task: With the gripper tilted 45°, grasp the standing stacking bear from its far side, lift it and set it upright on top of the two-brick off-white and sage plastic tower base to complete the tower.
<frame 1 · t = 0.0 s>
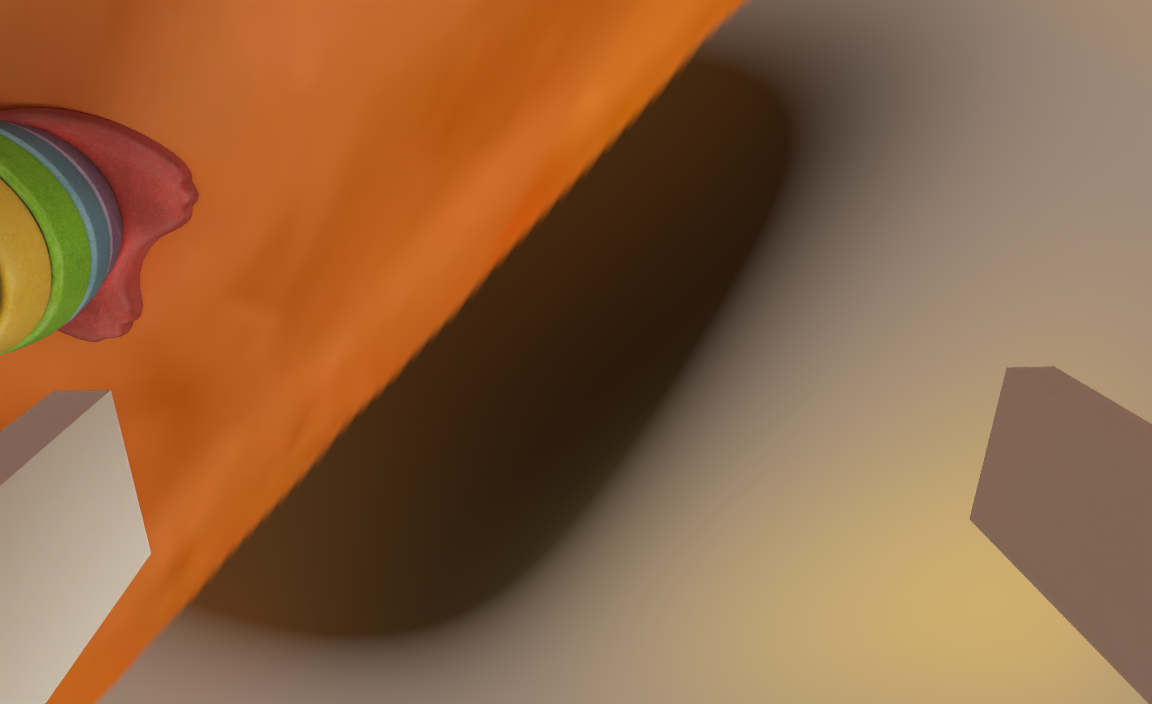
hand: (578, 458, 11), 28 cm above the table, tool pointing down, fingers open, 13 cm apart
stacking bear: (67, 209, 36), on the table
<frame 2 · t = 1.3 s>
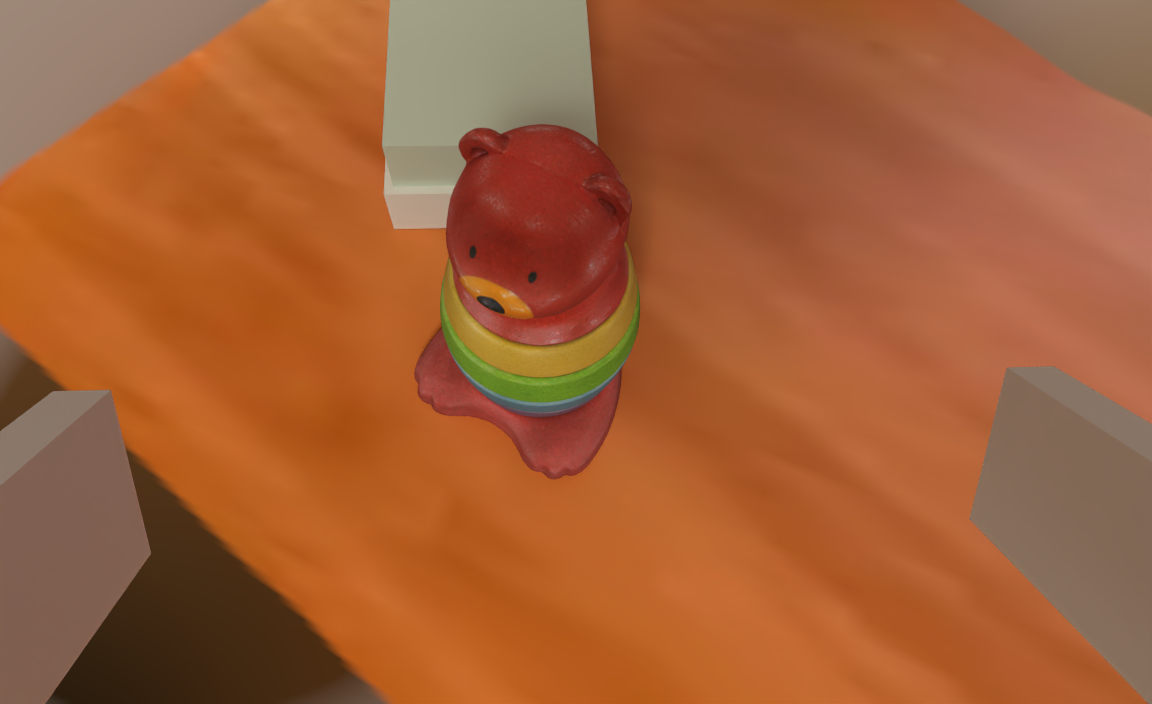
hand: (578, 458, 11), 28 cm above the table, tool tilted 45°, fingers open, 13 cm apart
tower base: (494, 132, 48), on the table
stacking bear: (534, 368, 42), on the table
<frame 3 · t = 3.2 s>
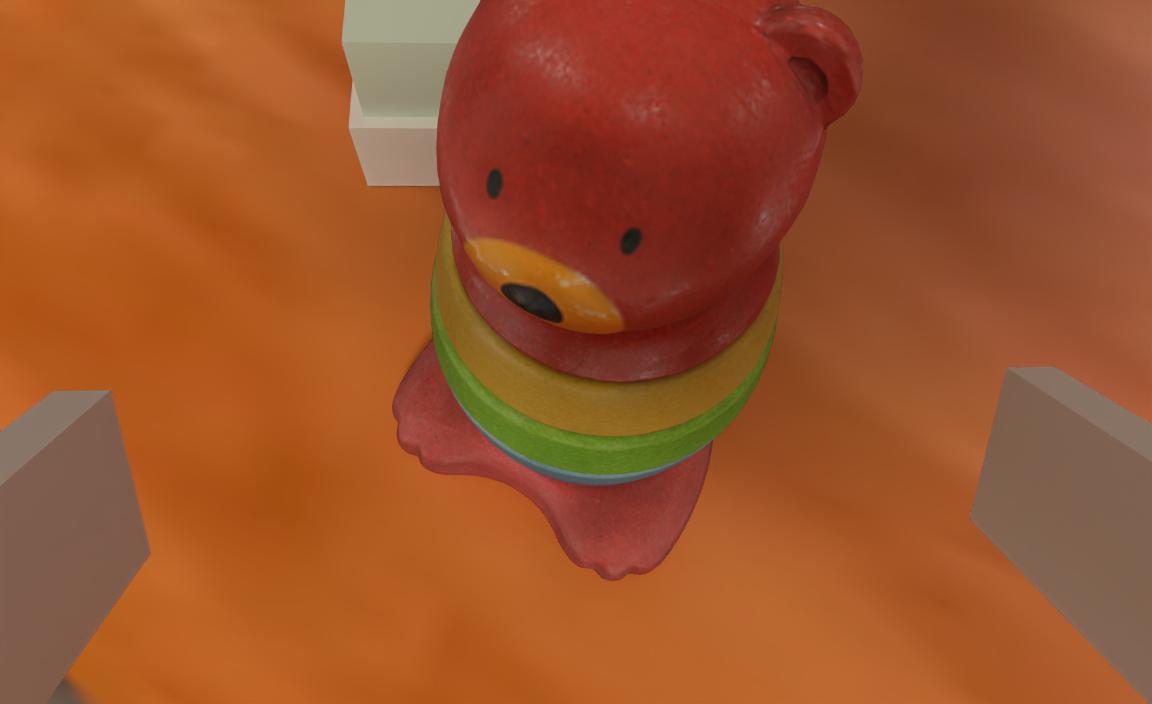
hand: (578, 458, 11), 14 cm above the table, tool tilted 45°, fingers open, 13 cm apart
tower base: (517, 51, 33), on the table
stacking bear: (578, 399, 27), on the table
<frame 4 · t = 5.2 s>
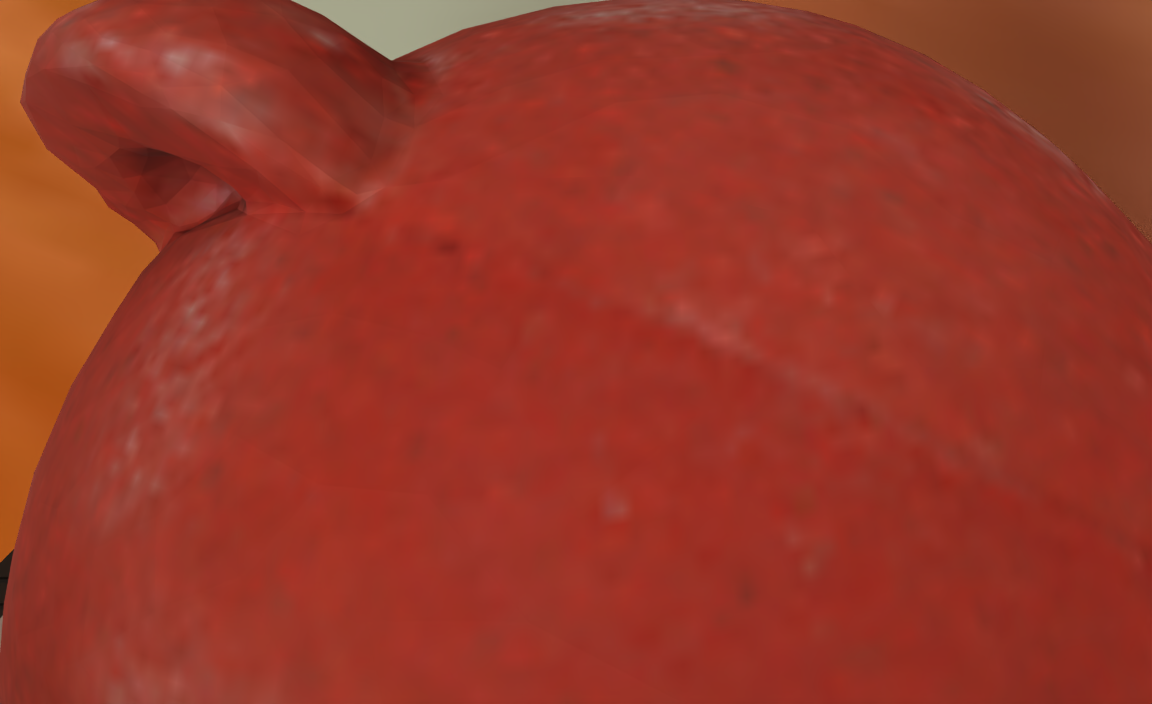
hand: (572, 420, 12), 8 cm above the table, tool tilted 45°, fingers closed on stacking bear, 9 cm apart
tower base: (475, 121, 24), on the table
stacking bear: (549, 646, 19), on the table, touching gripper
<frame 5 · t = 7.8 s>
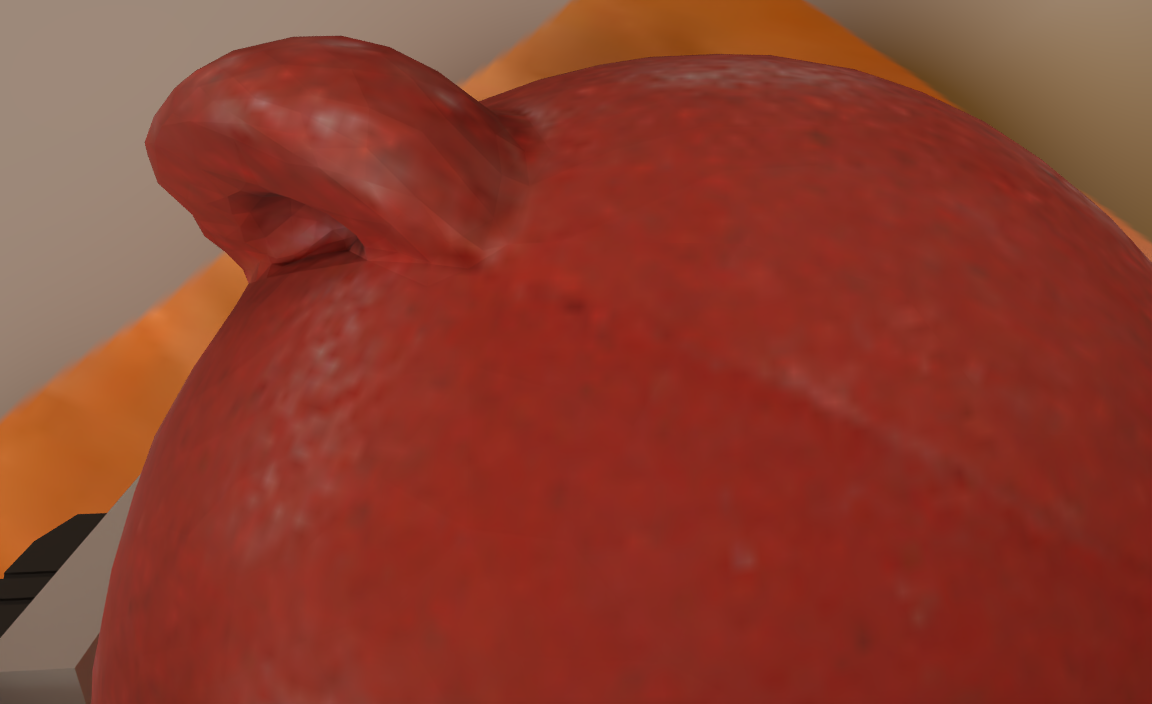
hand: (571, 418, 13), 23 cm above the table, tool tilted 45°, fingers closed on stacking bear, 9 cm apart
stacking bear: (542, 650, 19), point 14 cm above the table, touching gripper
when the fingers open (16 cm above the table, at t = 10.3 s): stacking bear moves 1 cm, resting on tower base.
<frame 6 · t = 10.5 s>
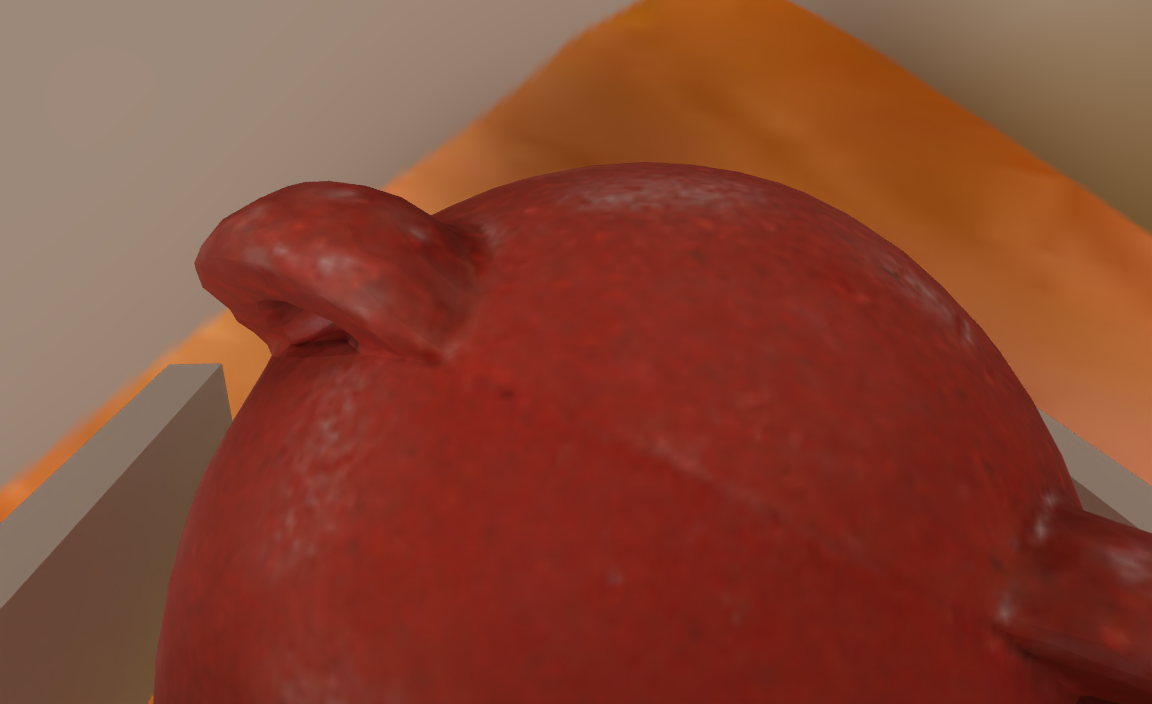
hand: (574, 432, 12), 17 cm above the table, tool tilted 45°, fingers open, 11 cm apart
stacking bear: (547, 651, 20), point 7 cm above the table, touching tower base
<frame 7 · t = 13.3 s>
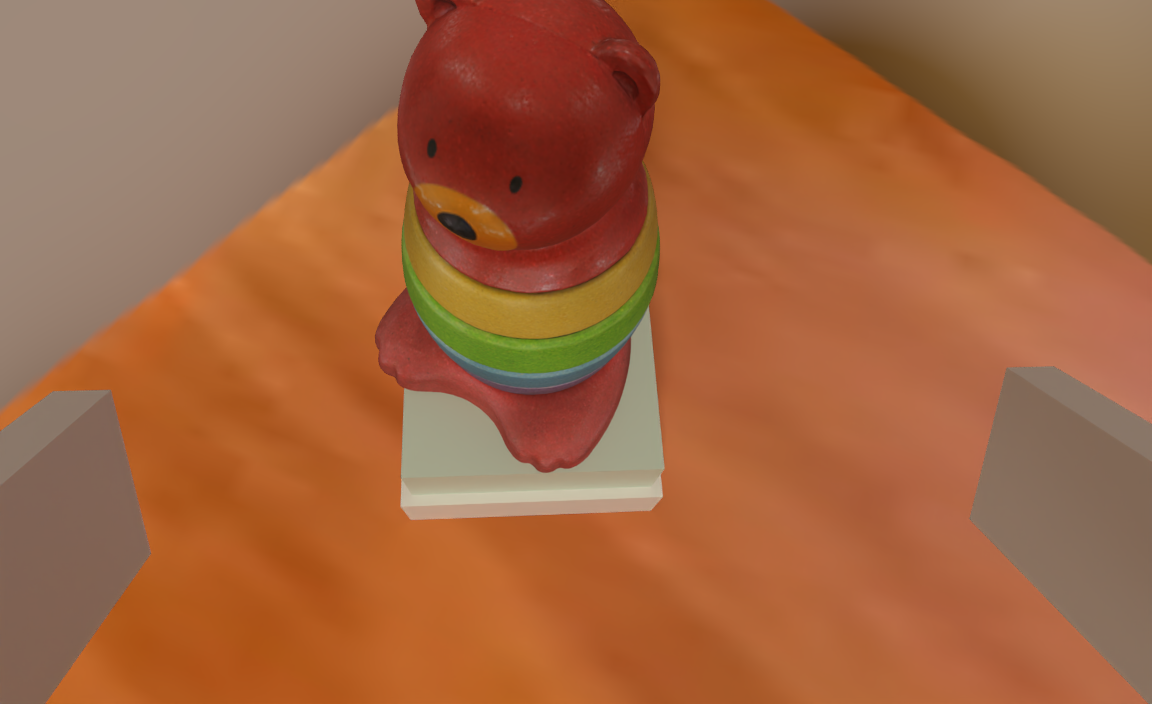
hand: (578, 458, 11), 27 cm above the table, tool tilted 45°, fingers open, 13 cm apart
tower base: (528, 383, 40), on the table
stacking bear: (524, 336, 34), point 7 cm above the table, touching tower base
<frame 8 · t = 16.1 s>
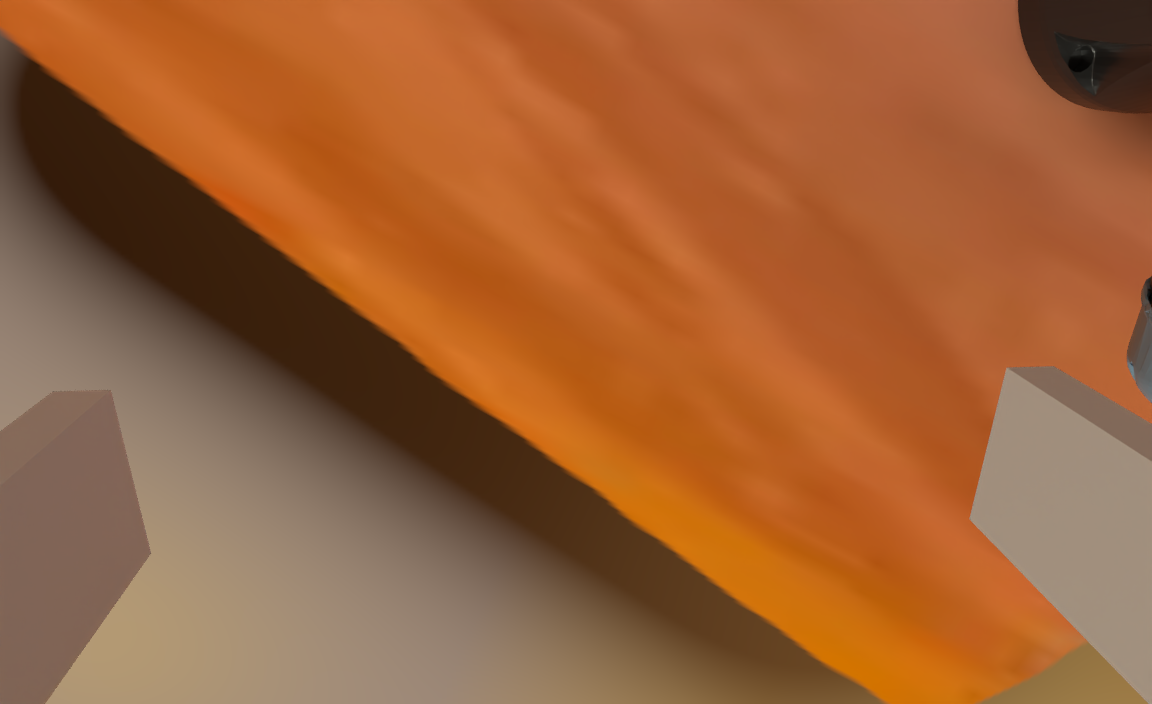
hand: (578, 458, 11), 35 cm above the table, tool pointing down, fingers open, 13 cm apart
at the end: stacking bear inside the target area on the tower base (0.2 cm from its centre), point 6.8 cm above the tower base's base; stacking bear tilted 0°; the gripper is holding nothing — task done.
